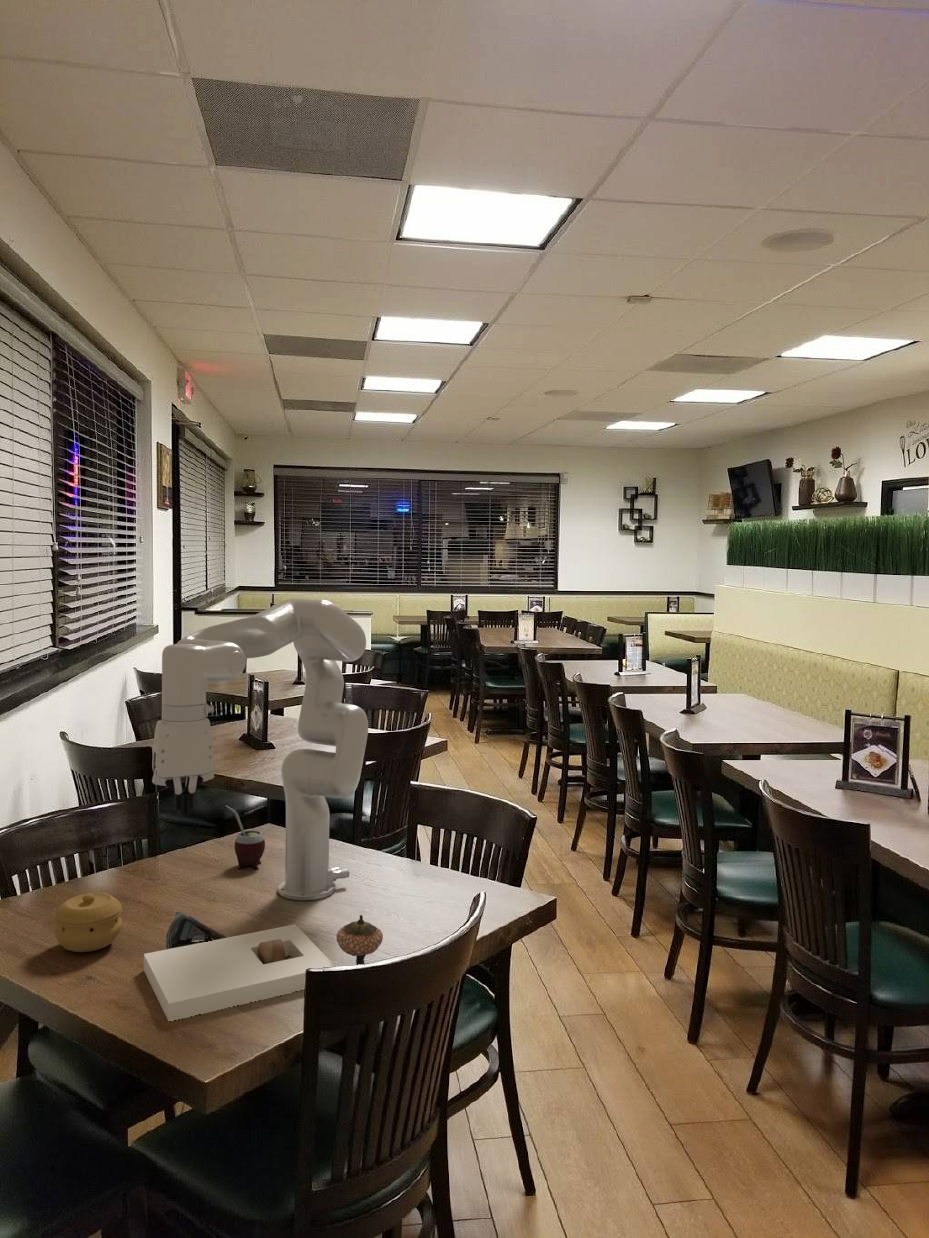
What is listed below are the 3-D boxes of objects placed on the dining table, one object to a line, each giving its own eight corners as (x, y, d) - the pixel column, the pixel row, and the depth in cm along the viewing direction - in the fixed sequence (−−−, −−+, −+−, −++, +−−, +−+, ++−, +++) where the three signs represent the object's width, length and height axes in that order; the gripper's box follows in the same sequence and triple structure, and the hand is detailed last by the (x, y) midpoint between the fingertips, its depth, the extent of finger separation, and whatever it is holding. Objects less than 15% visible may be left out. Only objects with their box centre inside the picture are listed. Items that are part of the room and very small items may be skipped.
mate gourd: (270, 866, 211) (271, 804, 210) (242, 874, 205) (243, 811, 204) (252, 859, 216) (252, 798, 215) (224, 866, 210) (224, 804, 209)
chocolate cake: (241, 940, 171) (200, 894, 172) (235, 945, 164) (192, 897, 165) (203, 977, 169) (162, 930, 170) (195, 983, 162) (152, 934, 163)
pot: (73, 932, 172) (72, 881, 171) (132, 934, 171) (132, 883, 171) (42, 958, 160) (41, 905, 159) (106, 961, 160) (106, 907, 159)
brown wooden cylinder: (259, 969, 159) (277, 965, 161) (266, 973, 155) (286, 969, 156) (257, 940, 160) (276, 937, 161) (264, 944, 155) (284, 940, 157)
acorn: (327, 973, 157) (328, 918, 156) (351, 954, 164) (352, 902, 164) (367, 983, 154) (368, 927, 153) (390, 963, 161) (391, 910, 161)
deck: (295, 939, 171) (295, 924, 170) (334, 982, 153) (334, 965, 153) (143, 970, 156) (143, 953, 156) (168, 1022, 139) (168, 1003, 139)
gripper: (220, 707, 165) (219, 804, 166) (136, 712, 157) (136, 813, 158) (231, 713, 158) (230, 814, 160) (144, 719, 151) (144, 824, 152)
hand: (183, 813), depth 159 cm, fingers closed
